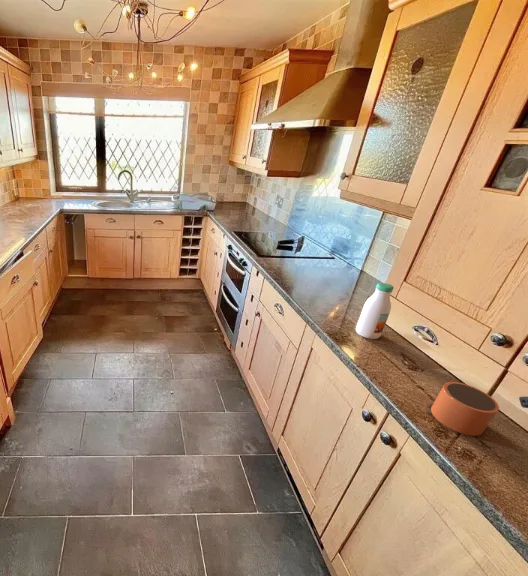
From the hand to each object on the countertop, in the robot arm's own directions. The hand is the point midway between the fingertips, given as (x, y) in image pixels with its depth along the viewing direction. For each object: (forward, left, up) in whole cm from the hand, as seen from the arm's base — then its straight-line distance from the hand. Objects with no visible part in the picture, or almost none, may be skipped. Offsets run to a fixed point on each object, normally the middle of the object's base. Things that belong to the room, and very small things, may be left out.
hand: (523, 402), depth 65 cm
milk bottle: (+31, -36, -16) cm, 50 cm away
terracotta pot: (+6, -7, -15) cm, 18 cm away
